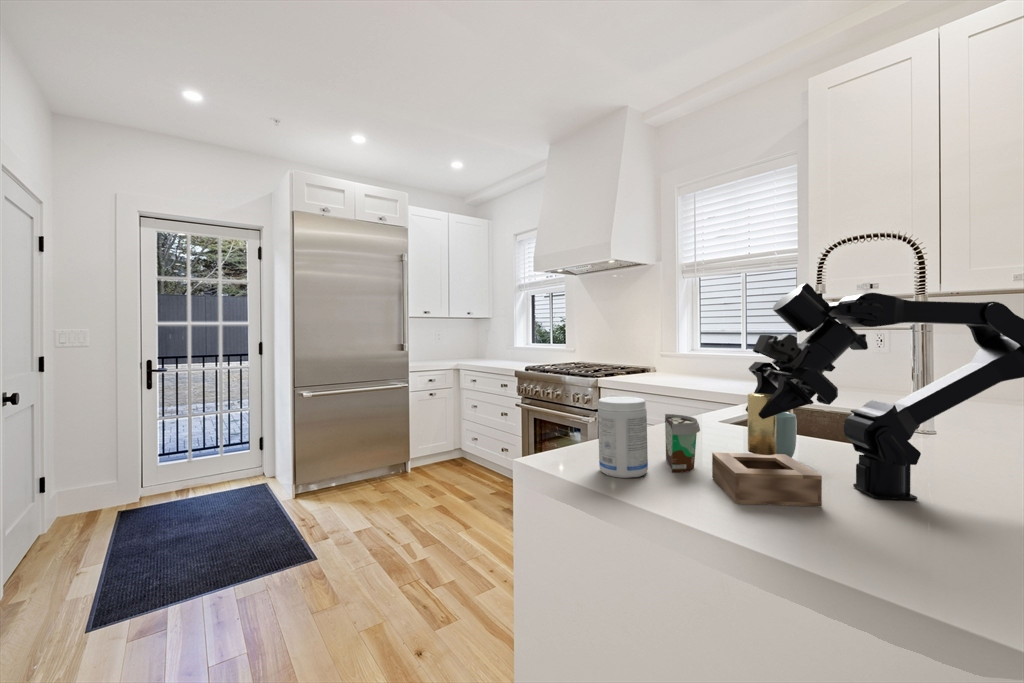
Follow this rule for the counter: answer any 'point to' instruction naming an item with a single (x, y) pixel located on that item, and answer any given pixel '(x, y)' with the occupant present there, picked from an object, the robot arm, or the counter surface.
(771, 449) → the brass cylinder
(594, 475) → the counter surface
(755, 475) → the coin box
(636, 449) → the supplement tub
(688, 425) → the food container
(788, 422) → the cup
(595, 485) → the counter surface
